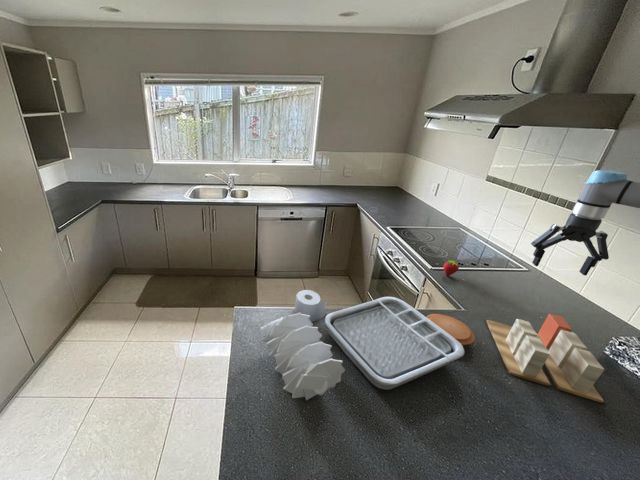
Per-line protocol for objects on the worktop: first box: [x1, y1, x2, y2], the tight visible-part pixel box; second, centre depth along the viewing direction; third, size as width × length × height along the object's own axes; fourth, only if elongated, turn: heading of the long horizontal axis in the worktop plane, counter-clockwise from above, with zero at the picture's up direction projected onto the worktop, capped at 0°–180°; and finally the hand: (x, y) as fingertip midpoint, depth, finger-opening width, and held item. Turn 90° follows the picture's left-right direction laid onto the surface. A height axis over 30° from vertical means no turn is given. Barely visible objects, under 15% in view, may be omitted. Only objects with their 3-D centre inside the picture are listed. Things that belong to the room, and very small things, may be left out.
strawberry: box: [443, 259, 459, 277], centre depth 141 cm, size 6×8×10 cm
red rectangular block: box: [537, 313, 573, 349], centre depth 99 cm, size 7×4×10 cm, turn 156°
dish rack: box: [324, 296, 465, 391], centre depth 96 cm, size 32×37×8 cm
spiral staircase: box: [260, 312, 346, 401], centre depth 85 cm, size 18×18×25 cm
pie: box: [425, 313, 476, 347], centre depth 104 cm, size 16×16×5 cm
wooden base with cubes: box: [485, 318, 552, 387], centre depth 97 cm, size 26×10×11 cm, turn 156°
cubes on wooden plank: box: [536, 330, 605, 404], centre depth 93 cm, size 26×10×11 cm, turn 156°
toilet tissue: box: [293, 289, 326, 323], centre depth 112 cm, size 9×13×9 cm
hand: (558, 269), depth 104 cm, fingers open, 13 cm apart
